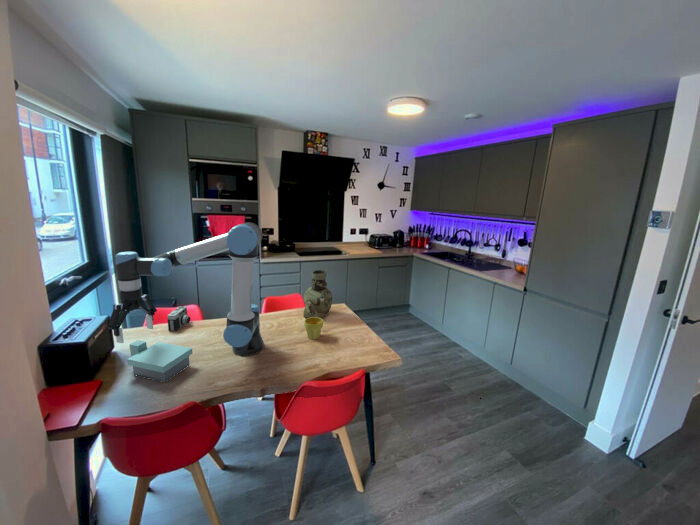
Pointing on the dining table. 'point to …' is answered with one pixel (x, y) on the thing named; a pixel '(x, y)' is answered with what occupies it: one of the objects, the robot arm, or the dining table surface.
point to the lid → (157, 355)
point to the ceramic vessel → (317, 297)
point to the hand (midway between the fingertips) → (136, 335)
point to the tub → (159, 375)
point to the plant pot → (313, 327)
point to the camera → (178, 318)
